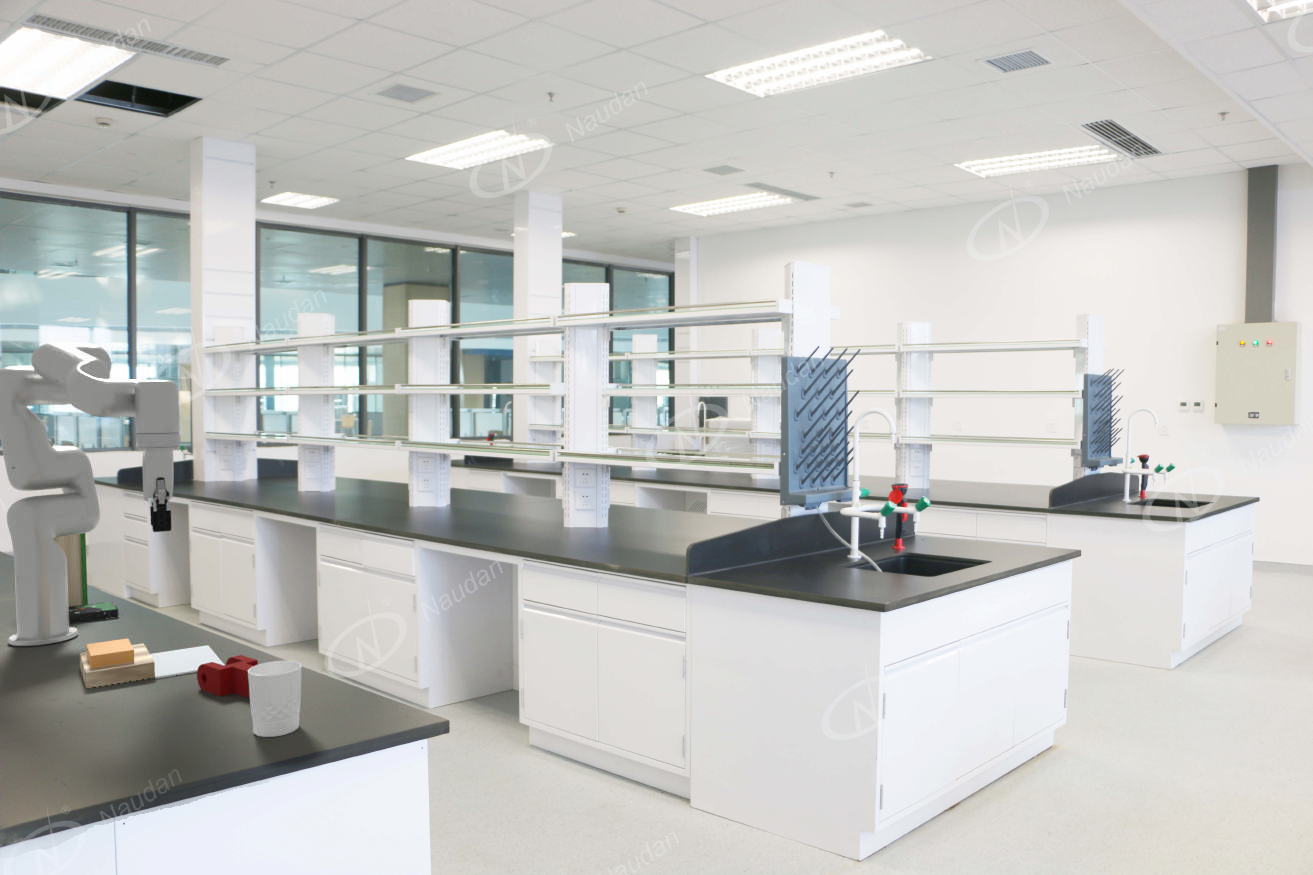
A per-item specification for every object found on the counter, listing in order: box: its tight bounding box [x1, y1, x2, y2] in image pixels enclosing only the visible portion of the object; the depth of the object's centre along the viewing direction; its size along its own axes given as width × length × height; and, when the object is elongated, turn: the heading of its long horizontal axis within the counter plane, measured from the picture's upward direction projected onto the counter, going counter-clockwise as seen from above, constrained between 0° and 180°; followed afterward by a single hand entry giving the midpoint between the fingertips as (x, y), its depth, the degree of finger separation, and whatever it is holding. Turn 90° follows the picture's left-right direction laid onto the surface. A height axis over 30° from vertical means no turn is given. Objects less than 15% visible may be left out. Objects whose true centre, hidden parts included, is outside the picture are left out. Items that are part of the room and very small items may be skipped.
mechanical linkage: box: [196, 654, 259, 700], centre depth 162 cm, size 16×7×5 cm, turn 54°
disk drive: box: [69, 601, 120, 625], centre depth 217 cm, size 10×3×15 cm
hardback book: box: [54, 533, 89, 607], centre depth 229 cm, size 18×7×24 cm, turn 44°
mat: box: [150, 645, 226, 680], centre depth 180 cm, size 18×12×1 cm, turn 36°
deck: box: [79, 643, 155, 690], centre depth 173 cm, size 16×11×3 cm
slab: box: [86, 638, 134, 668], centre depth 172 cm, size 10×7×2 cm
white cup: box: [248, 660, 303, 738], centre depth 143 cm, size 8×8×10 cm
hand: (161, 528), depth 179 cm, fingers open, 9 cm apart
